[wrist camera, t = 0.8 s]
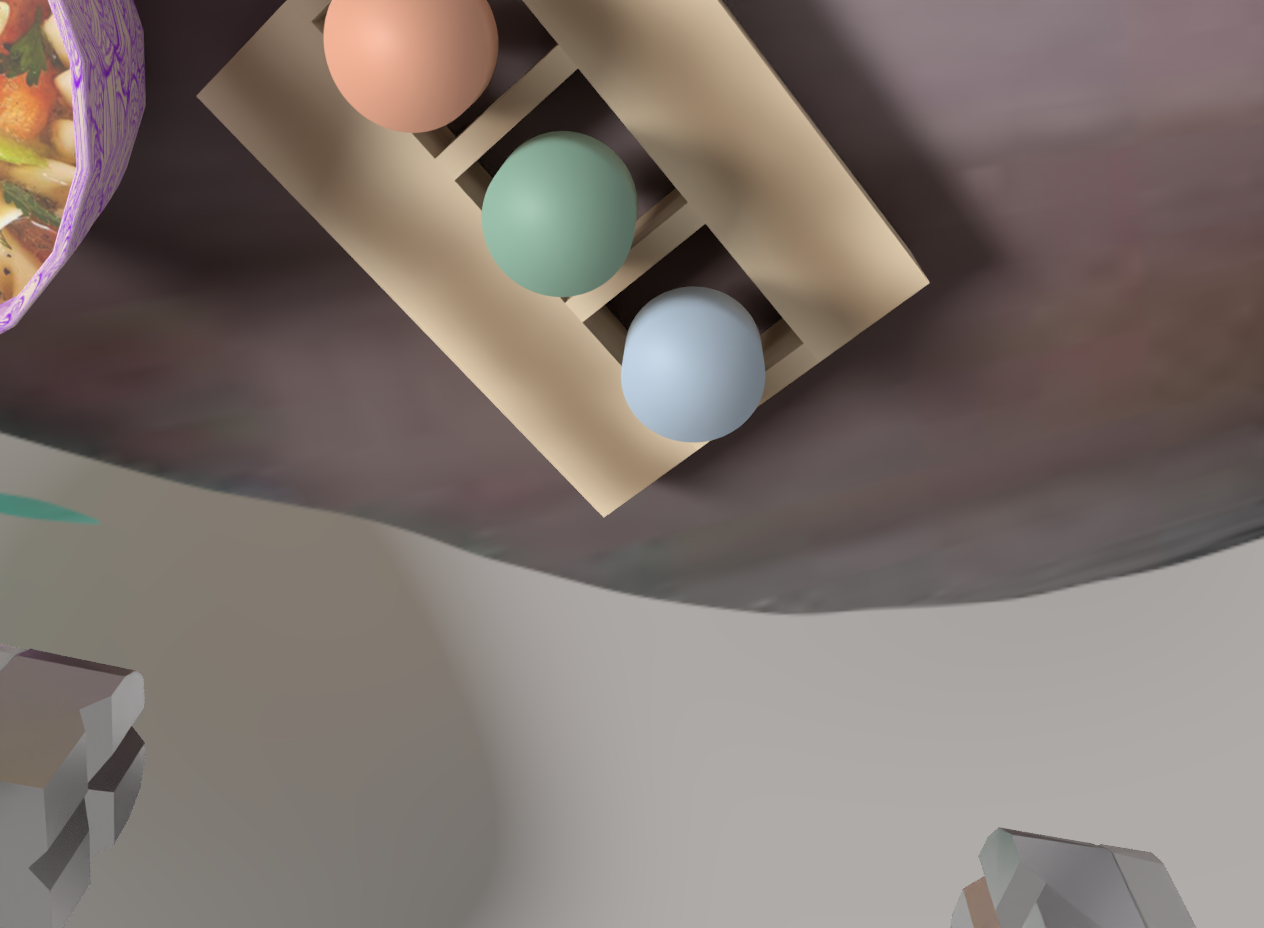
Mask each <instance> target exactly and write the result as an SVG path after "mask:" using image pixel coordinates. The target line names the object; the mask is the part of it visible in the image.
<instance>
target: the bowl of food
mask: <svg viewBox="0 0 1264 928" xmlns="http://www.w3.org/2000/svg"><path fill="white" fill-rule="evenodd" d="M145 106H146V92H145V61H144V31H143V28H142V25H141V21H140V18H139V15H138V12H137V9H136V6H135V3H134V0H0V334H1V333H3V332H5V331H7V330H9V329H11V328H12V327H14V326H16V324H17V323H18V322H19V321H20V319H21V318H22V317H23V316H24V314H25V313H26V312H27V311H28V309H29V308H30V307H31V306H32V304H33V303H34V302H35V301H36V299H37V298H38V297H39V296H40V294H41V293H42V292H43V291H44V289H45V288H46V287H47V286H48V284H49V283H50V282H51V281H52V279H53V278H54V277H55V276H56V274H57V273H58V272H59V271H60V269H61V268H62V267H63V266H64V264H65V263H66V262H67V261H68V259H69V258H70V257H71V255H72V254H73V253H74V251H75V250H76V249H77V247H78V246H79V245H80V243H81V242H82V240H83V239H84V237H85V236H86V234H87V233H88V231H89V230H90V228H91V226H92V225H93V223H94V222H95V221H96V219H97V218H98V216H99V215H100V214H101V212H102V211H103V210H104V208H105V207H106V205H107V204H108V202H109V201H110V199H111V198H112V196H113V194H114V193H115V191H116V190H117V188H118V186H119V184H120V182H121V180H122V177H123V175H124V173H125V171H126V169H127V166H128V163H129V159H130V156H131V153H132V149H133V146H134V143H135V139H136V136H137V133H138V129H139V126H140V123H141V120H142V116H143V113H144V110H145Z"/></svg>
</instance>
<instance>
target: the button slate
mask: <svg viewBox="0 0 1264 928" xmlns="http://www.w3.org/2000/svg"><path fill="white" fill-rule="evenodd" d="M765 376H766V375H765V364H764V357H763V351H762V344H761V339H760V334H759V331H758V328H757V326H756V324H755V322H754V320H753V318H752V317H751V315H750V314H749V313H748V311H747V310H746V309H745V308H744V307H743V306H742V305H741V304H740V303H739V302H737V301H736V300H735V299H733V298H732V297H730V296H728V295H727V294H725V293H722V292H720V291H717V290H714V289H711V288H705V287H693V286H691V287H681V288H677V289H673V290H670V291H667V292H664V293H662V294H661V295H659V296H657V297H655V298H654V299H652V300H651V301H649V302H648V303H647V304H646V305H645V306H644V307H643V308H642V309H641V310H640V311H639V312H638V314H637V315H636V316H635V318H634V320H633V321H632V323H631V325H630V327H629V330H628V333H627V336H626V342H625V348H624V355H623V361H622V368H621V384H622V390H623V394H624V397H625V399H626V402H627V404H628V406H629V407H630V409H631V411H632V412H633V414H634V415H635V416H636V417H637V419H638V420H639V421H640V422H641V423H643V424H644V425H645V426H646V427H647V428H649V429H650V430H651V431H653V432H655V433H657V434H659V435H661V436H663V437H665V438H668V439H672V440H675V441H681V442H693V443H695V442H705V441H710V440H714V439H717V438H720V437H723V436H725V435H727V434H729V433H731V432H733V431H734V430H736V429H737V428H739V427H740V426H741V425H742V424H743V423H745V422H746V421H747V419H748V418H749V417H750V416H751V415H752V414H753V412H754V411H755V409H756V408H757V406H758V404H759V402H760V400H761V397H762V394H763V391H764V386H765Z"/></svg>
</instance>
